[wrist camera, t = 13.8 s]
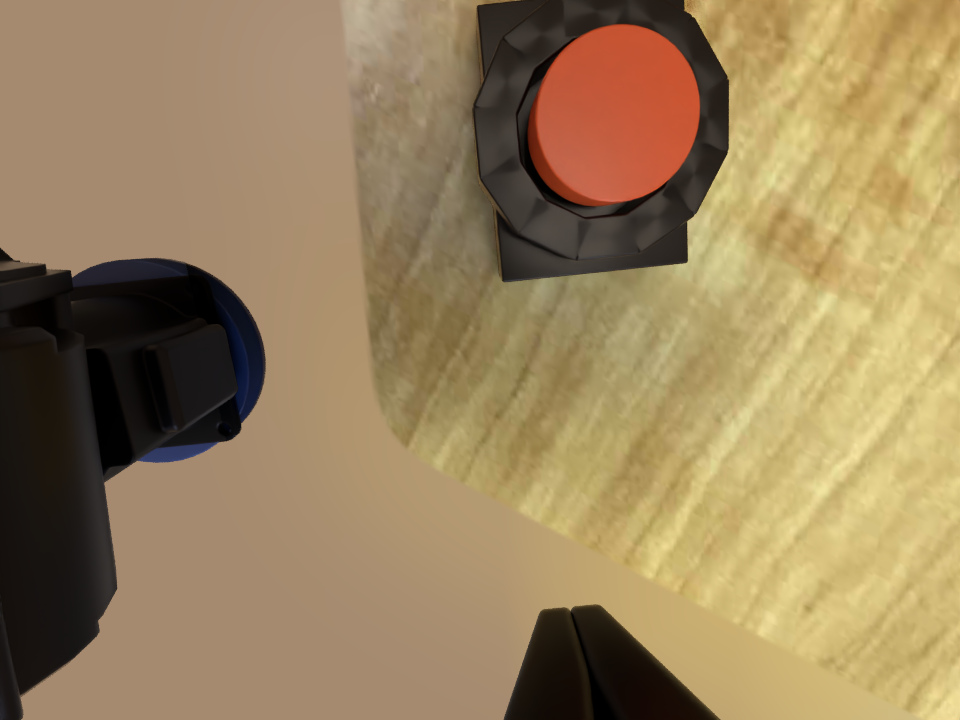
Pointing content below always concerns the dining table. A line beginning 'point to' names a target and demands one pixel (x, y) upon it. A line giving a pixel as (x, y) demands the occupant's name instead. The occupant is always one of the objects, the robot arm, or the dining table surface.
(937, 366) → the dining table surface
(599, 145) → the button
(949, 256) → the dining table surface
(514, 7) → the button block
